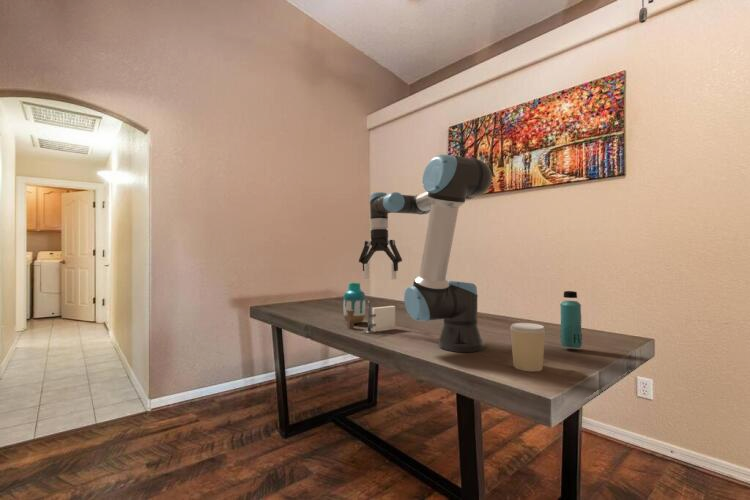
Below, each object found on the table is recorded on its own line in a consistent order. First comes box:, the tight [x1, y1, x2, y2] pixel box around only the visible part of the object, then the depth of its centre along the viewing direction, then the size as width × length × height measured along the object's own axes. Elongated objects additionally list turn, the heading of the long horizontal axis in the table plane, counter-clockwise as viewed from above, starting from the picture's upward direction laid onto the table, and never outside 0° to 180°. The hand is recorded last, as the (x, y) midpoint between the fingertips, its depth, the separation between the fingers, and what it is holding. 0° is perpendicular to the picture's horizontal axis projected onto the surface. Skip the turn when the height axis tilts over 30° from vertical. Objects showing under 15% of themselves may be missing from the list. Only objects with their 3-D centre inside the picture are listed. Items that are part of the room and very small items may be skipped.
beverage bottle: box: [559, 290, 583, 349], centre depth 123 cm, size 6×7×20 cm
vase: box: [342, 282, 367, 325], centre depth 172 cm, size 11×11×19 cm
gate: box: [371, 305, 396, 331], centre depth 156 cm, size 12×2×9 cm, turn 123°
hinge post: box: [364, 300, 375, 334], centre depth 152 cm, size 4×4×13 cm
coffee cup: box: [509, 322, 546, 372], centre depth 105 cm, size 9×9×12 cm
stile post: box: [346, 309, 355, 330], centre depth 161 cm, size 3×3×8 cm
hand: (380, 279), depth 154 cm, fingers open, 13 cm apart
